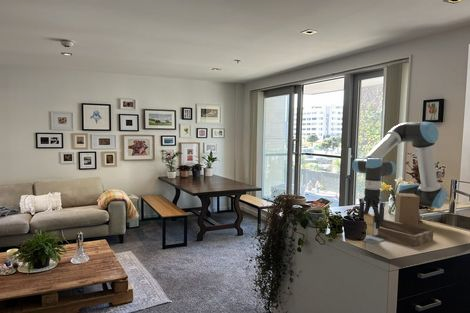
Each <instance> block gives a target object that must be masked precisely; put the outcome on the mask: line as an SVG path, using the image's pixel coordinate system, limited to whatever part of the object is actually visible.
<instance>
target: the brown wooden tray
mask: <svg viewBox="0 0 470 313" xmlns="http://www.w3.org/2000/svg"><path fill="white" fill-rule="evenodd" d="M373 237H377V238H381V239H384V240H385V239H386V240H389V241H392V242H397V243H400V244H404V245H407V246H410V247H414V248H416V247H419V246H421V245H424V244H425V243H428V242H429V243H430V242H432V241H433V240H434V230H431V229H427V228H423V227H420V226H418V227H415V226H411V225H407V224H402V223H398V222H395V220H394V221H393V220H389V219H385V218H384V221H383V222H380V227H379V229H378V235H374V236H373Z"/></svg>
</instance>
